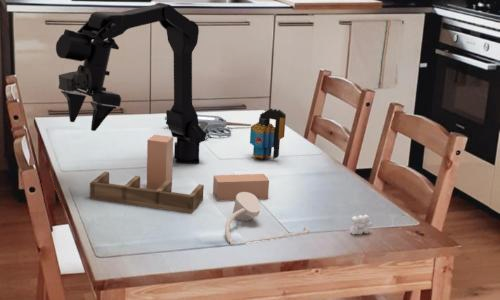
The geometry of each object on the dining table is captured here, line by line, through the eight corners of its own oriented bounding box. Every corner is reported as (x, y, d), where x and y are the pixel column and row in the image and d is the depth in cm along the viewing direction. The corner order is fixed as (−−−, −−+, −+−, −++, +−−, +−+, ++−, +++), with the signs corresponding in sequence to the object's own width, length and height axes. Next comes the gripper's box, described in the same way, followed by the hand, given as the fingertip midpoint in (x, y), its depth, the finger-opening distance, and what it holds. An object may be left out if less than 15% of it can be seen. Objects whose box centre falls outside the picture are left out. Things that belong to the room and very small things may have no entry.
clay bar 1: (153, 183, 212) (154, 134, 208) (171, 185, 210) (173, 136, 207) (146, 189, 207) (147, 139, 203) (165, 192, 206) (166, 142, 202)
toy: (245, 159, 234) (248, 108, 229) (258, 150, 242) (261, 101, 238) (277, 165, 231) (280, 113, 226) (288, 156, 239) (292, 106, 235)
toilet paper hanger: (232, 244, 176) (203, 197, 188) (228, 261, 179) (199, 213, 190) (312, 231, 186) (279, 186, 197) (306, 247, 189) (274, 202, 200)
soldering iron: (171, 145, 246) (163, 125, 260) (260, 149, 255) (247, 130, 269) (174, 126, 244) (165, 108, 258) (263, 132, 253) (250, 113, 267)
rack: (104, 186, 207) (104, 171, 206) (203, 200, 202) (203, 184, 201) (89, 198, 199) (89, 182, 197) (192, 213, 193) (192, 197, 192)
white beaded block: (352, 235, 186) (355, 217, 185) (348, 233, 187) (352, 214, 186) (370, 234, 188) (373, 216, 187) (367, 232, 189) (370, 214, 188)
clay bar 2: (262, 192, 210) (263, 173, 209) (267, 199, 206) (269, 180, 204) (212, 194, 207) (213, 175, 205) (217, 201, 202) (217, 182, 201)
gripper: (46, 52, 201) (34, 114, 203) (90, 66, 188) (76, 132, 190) (84, 59, 209) (71, 118, 211) (128, 73, 196) (114, 136, 198)
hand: (82, 126), depth 202 cm, fingers open, 9 cm apart
